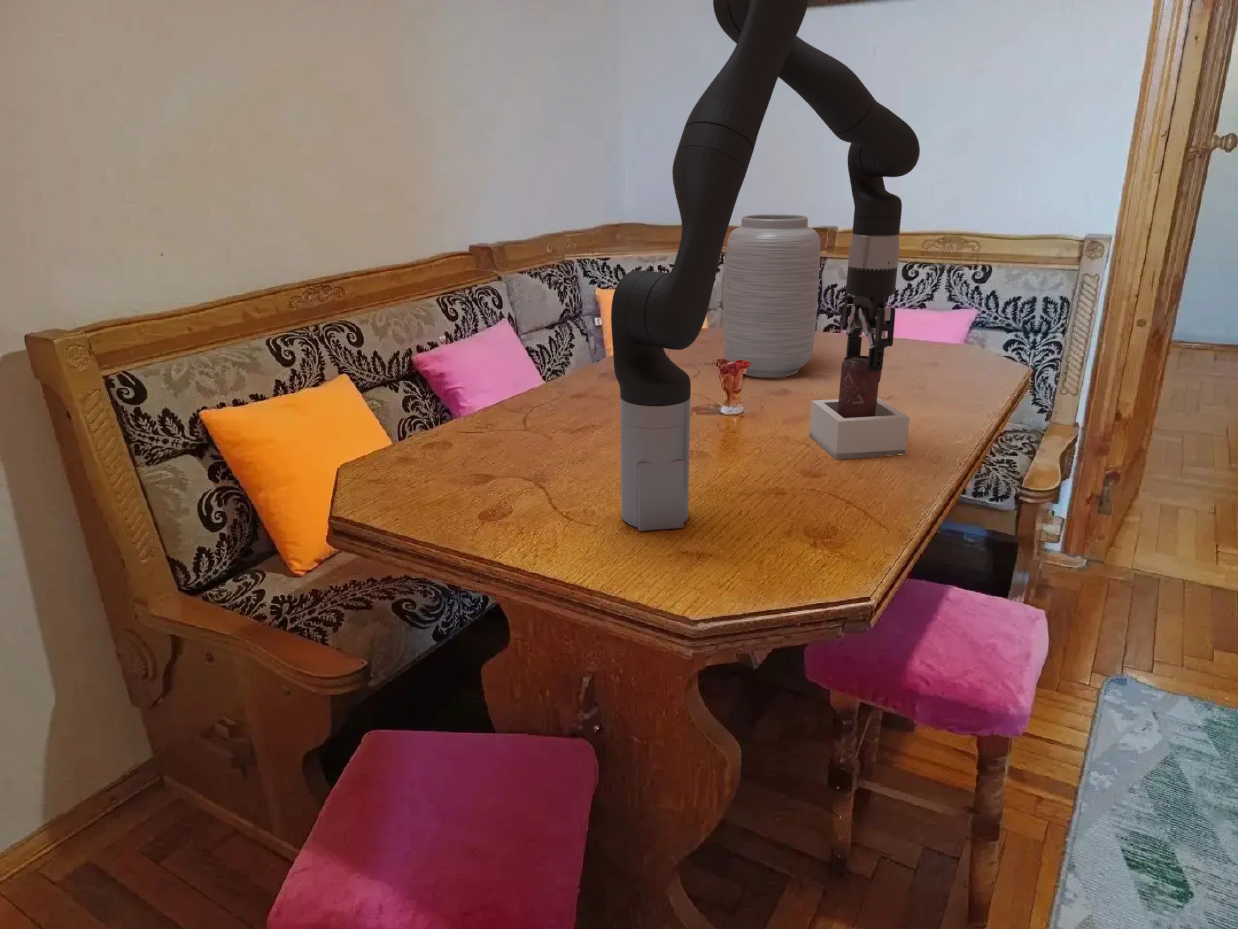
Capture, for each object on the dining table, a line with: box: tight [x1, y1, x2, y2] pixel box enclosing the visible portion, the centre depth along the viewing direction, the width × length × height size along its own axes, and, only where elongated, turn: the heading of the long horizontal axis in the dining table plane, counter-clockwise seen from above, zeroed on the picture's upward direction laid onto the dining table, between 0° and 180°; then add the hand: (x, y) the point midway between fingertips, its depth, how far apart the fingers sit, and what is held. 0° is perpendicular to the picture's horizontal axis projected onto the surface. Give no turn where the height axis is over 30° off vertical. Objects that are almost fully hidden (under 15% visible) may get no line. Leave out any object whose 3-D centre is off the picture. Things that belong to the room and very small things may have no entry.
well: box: [808, 396, 911, 461], centre depth 142 cm, size 12×12×6 cm
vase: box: [722, 213, 821, 379], centre depth 186 cm, size 20×20×34 cm
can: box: [838, 355, 883, 418], centre depth 141 cm, size 6×6×14 cm
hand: (863, 364), depth 138 cm, fingers open, 8 cm apart
